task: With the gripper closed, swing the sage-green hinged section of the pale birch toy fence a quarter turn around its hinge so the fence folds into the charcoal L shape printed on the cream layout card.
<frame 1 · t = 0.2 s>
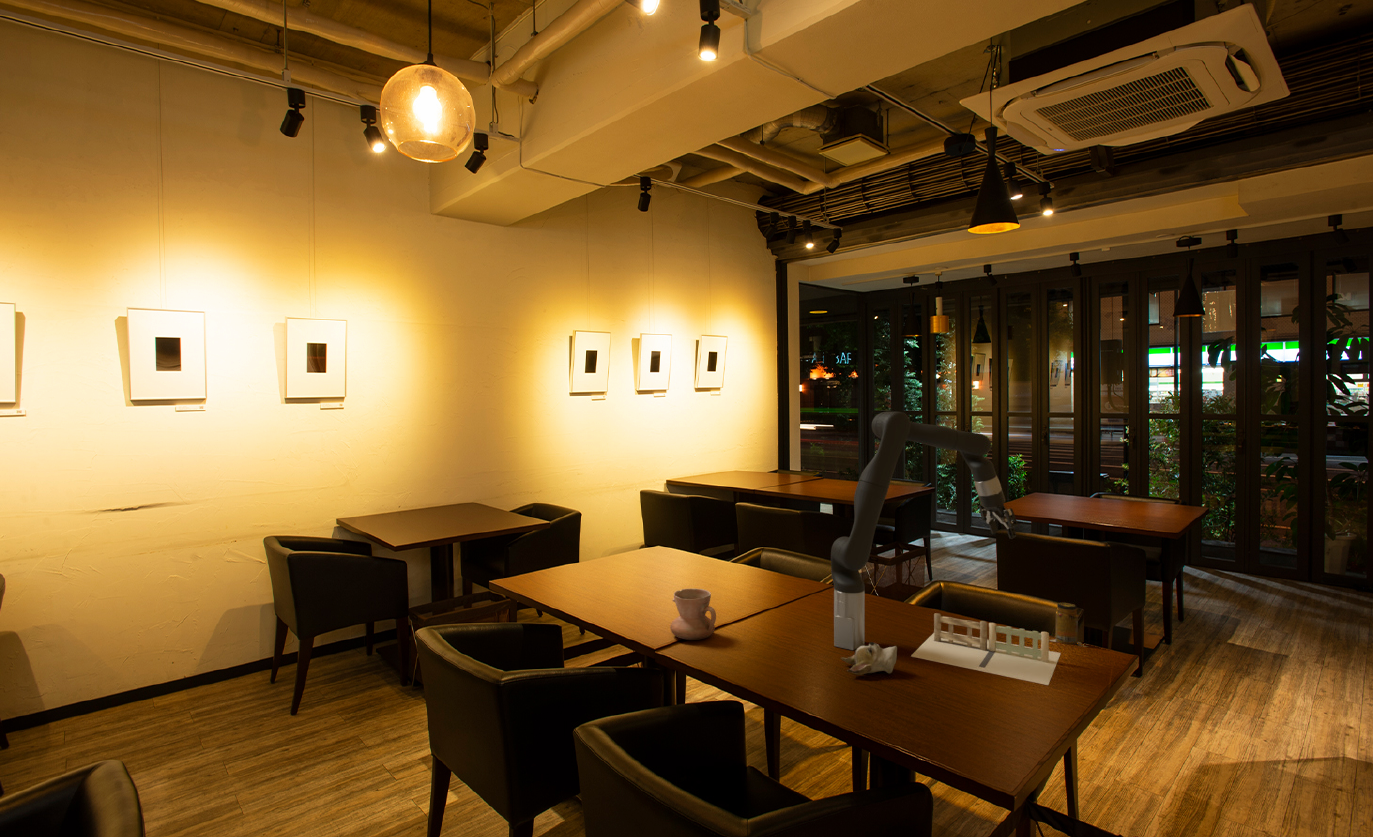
hand: (1004, 535, 220), 31 cm above the table, fingers open, 8 cm apart
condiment: (1068, 644, 207), on the table
layout card: (986, 655, 197), on the table
fence gate: (1018, 641, 196), point 5 cm above the table, hinge at 0.0°
fence fixed: (992, 652, 200), resting on layout card
ceramic jug: (693, 637, 215), on the table
ceramic sculpture: (870, 672, 186), on the table
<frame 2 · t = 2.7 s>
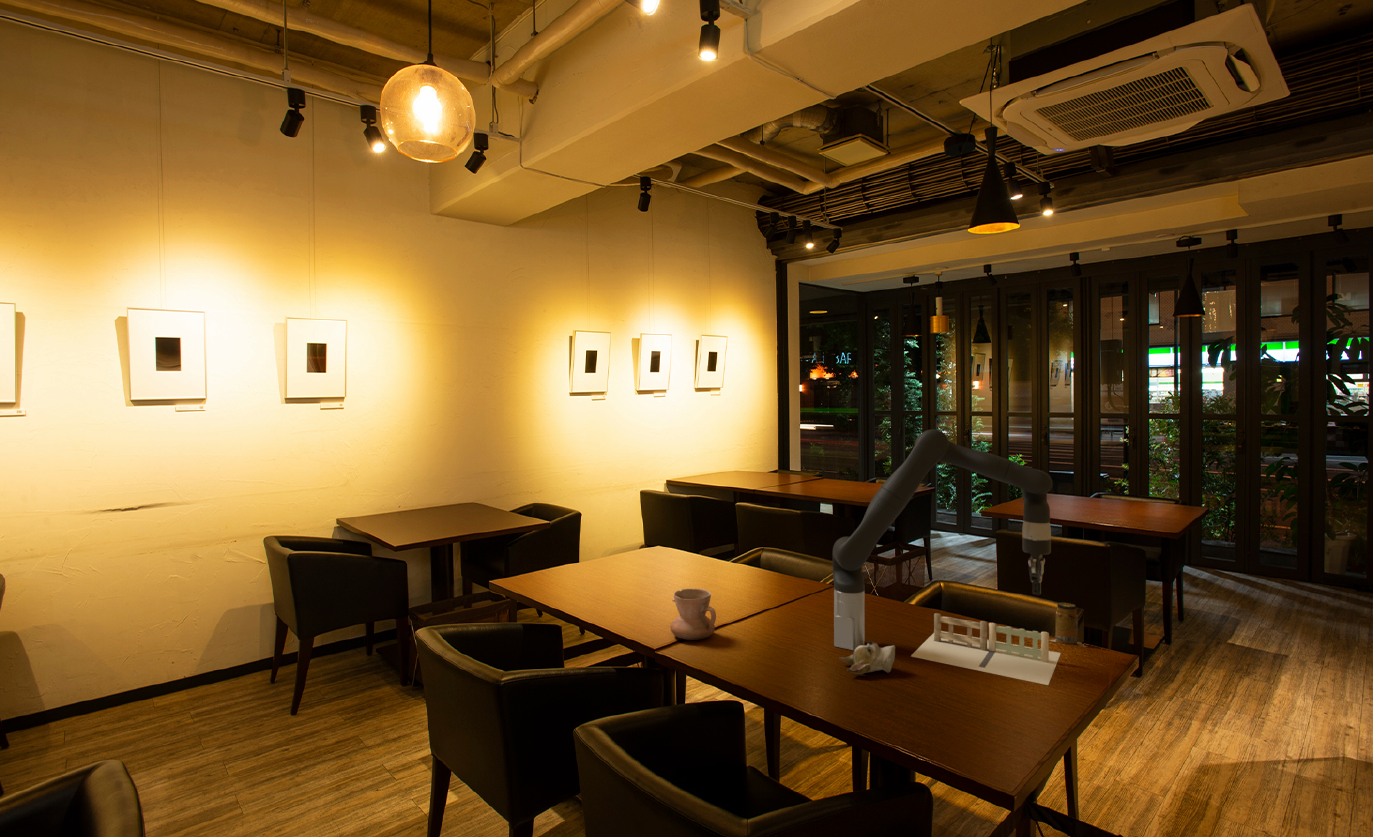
hand: (1036, 594, 198), 18 cm above the table, fingers closed
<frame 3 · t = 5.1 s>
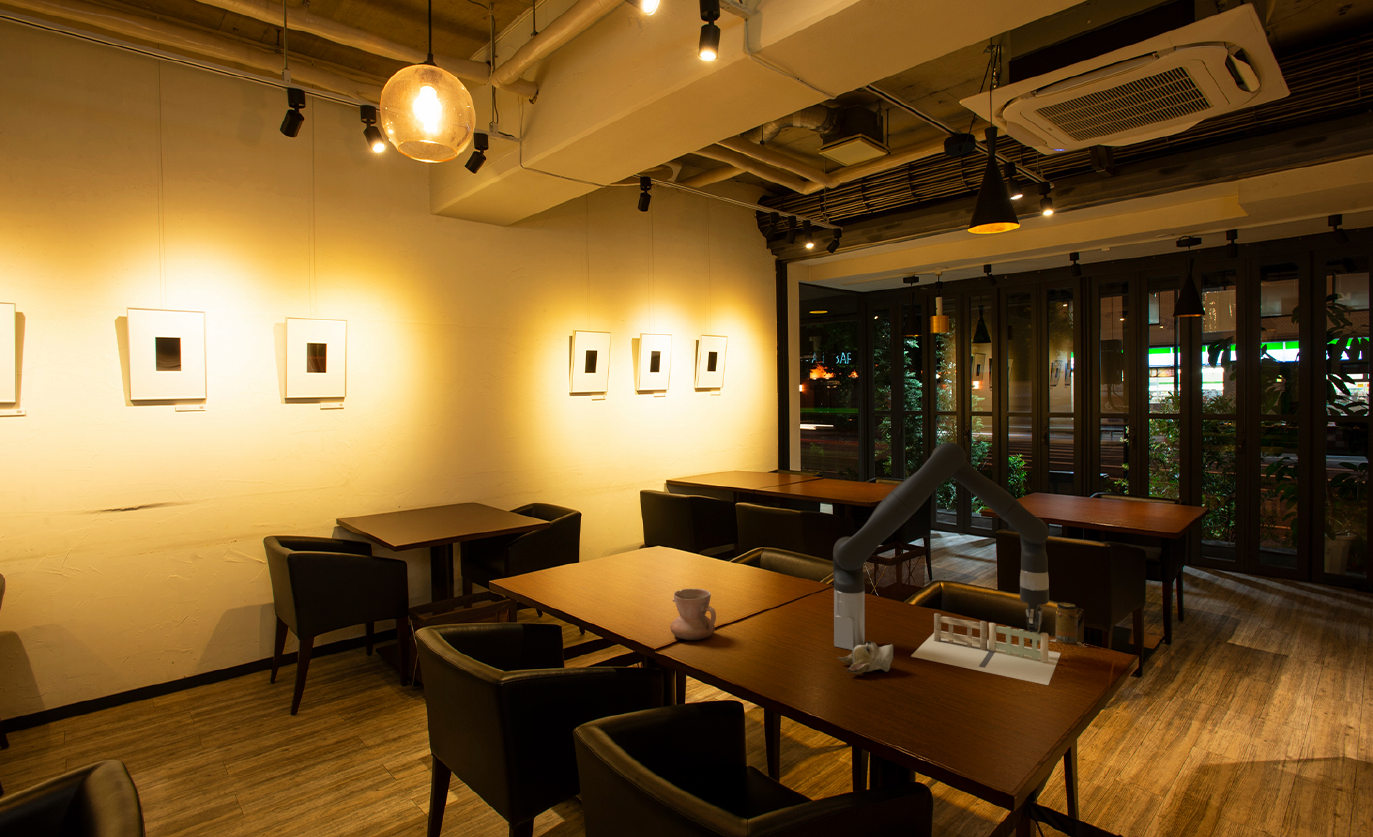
hand: (1034, 643, 196), 4 cm above the table, fingers closed
fence gate: (1017, 642, 195), point 5 cm above the table, hinge at 3.6°, touching gripper, hand
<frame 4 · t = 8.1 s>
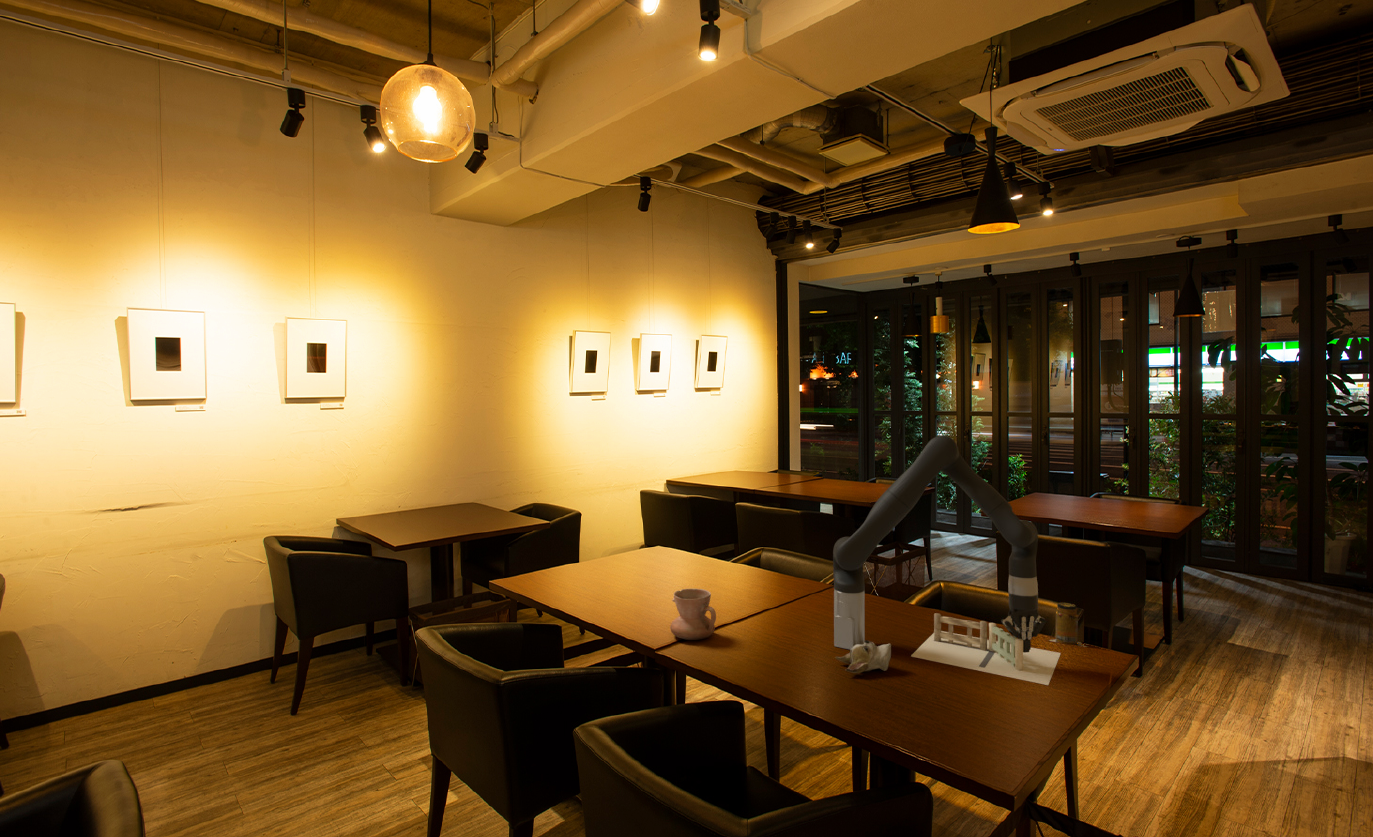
hand: (1024, 651, 189), 4 cm above the table, fingers closed
fence gate: (1005, 645, 193), point 5 cm above the table, hinge at 50.4°, touching gripper, hand
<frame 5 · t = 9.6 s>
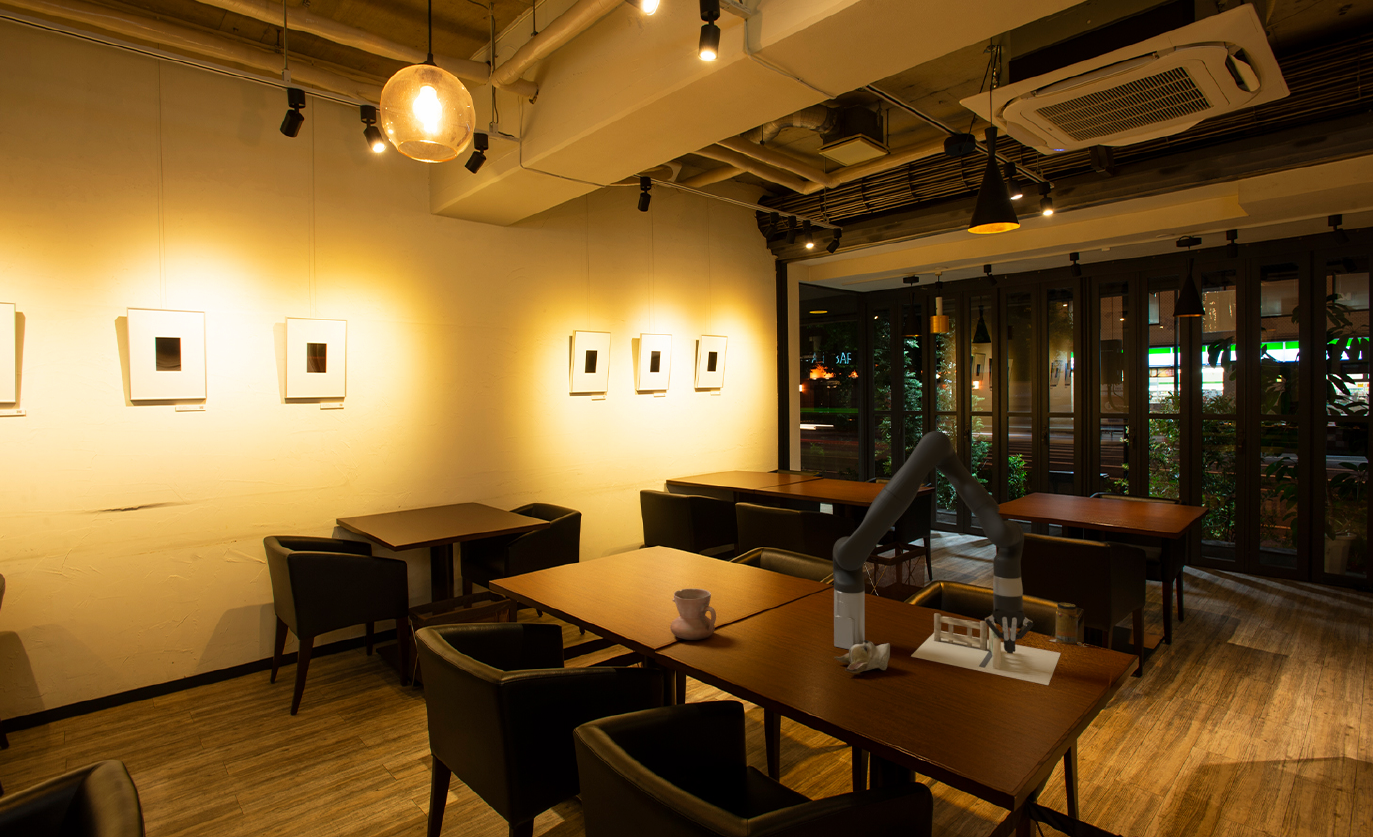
hand: (1009, 652, 188), 4 cm above the table, fingers closed
fence gate: (994, 644, 193), point 5 cm above the table, hinge at 74.8°, touching gripper
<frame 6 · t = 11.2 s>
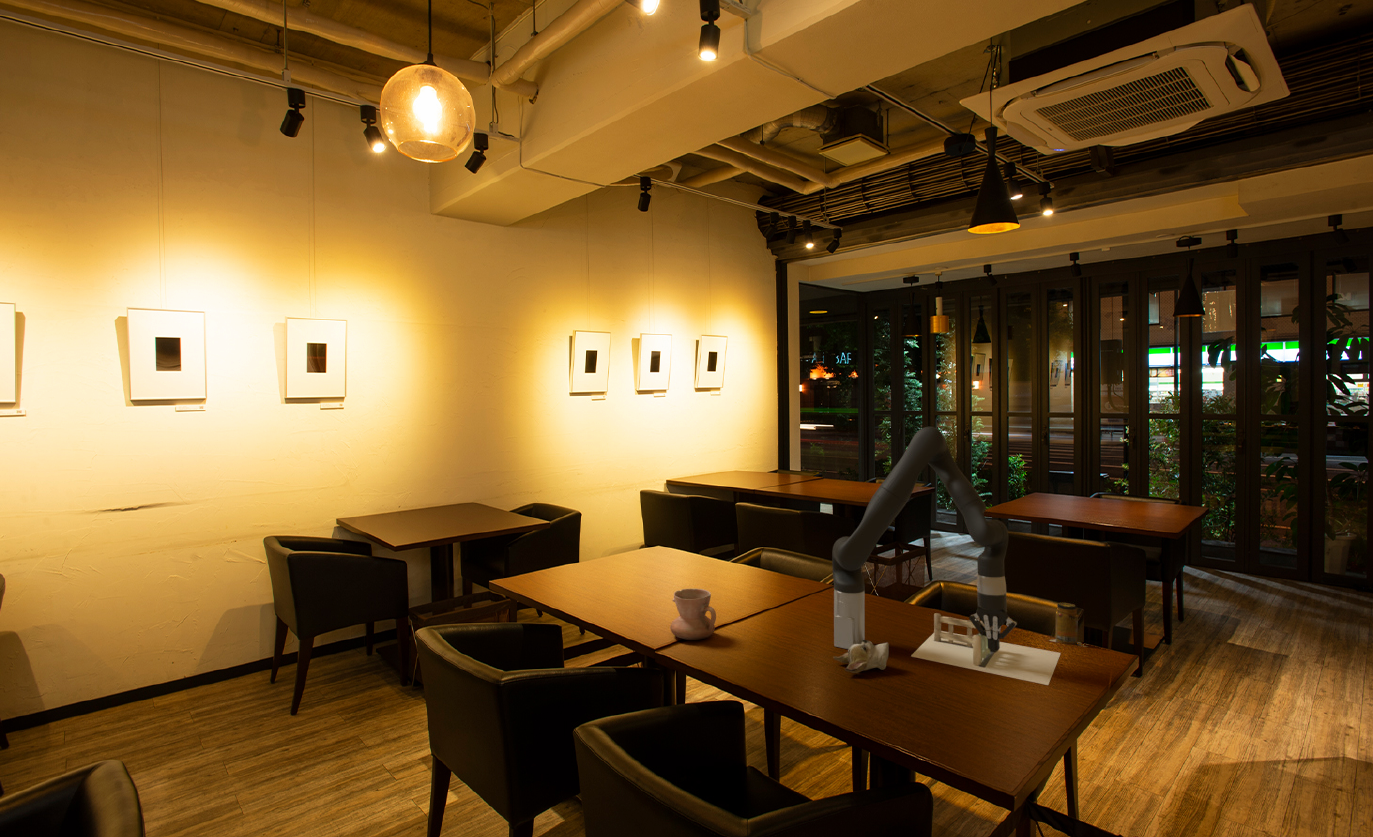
hand: (993, 651, 189), 4 cm above the table, fingers closed
fence gate: (984, 643, 194), point 5 cm above the table, hinge at 96.0°, touching gripper
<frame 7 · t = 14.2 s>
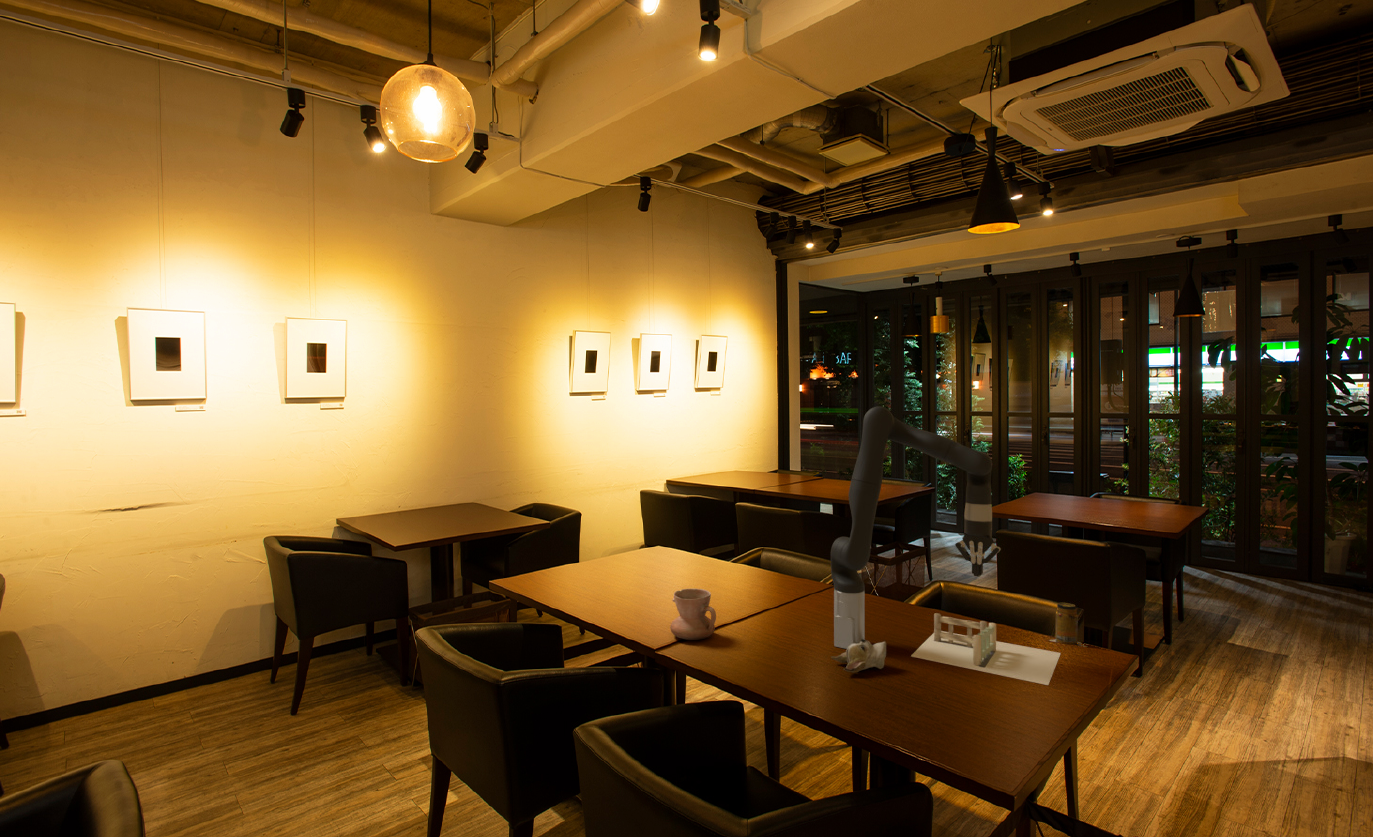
hand: (977, 575, 198), 23 cm above the table, fingers closed
fence gate: (985, 643, 194), point 5 cm above the table, hinge at 95.9°
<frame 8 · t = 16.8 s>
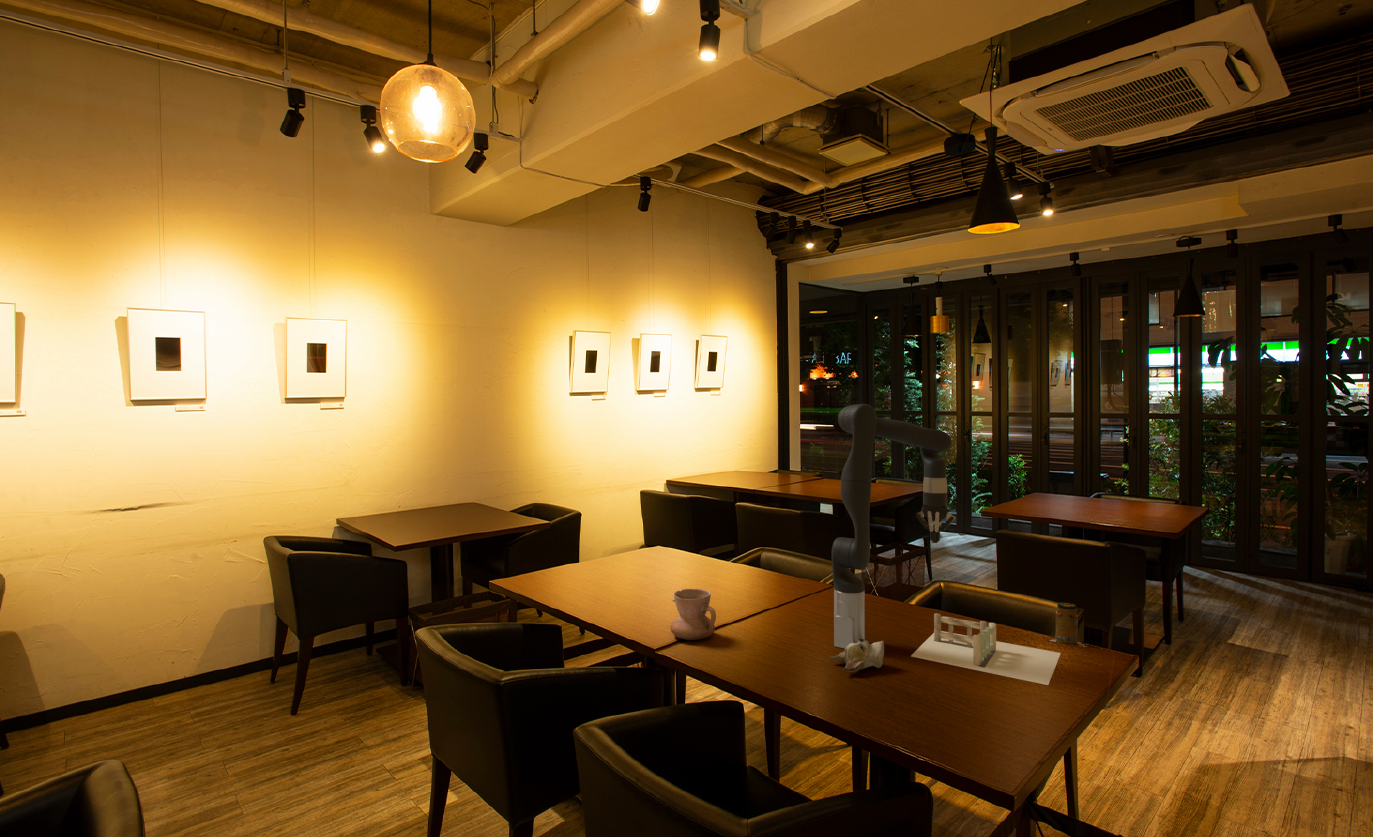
hand: (935, 542, 221), 29 cm above the table, fingers closed
at the end: fence gate at +96° (first picture: +0°); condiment moved 0.3 cm from its start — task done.
